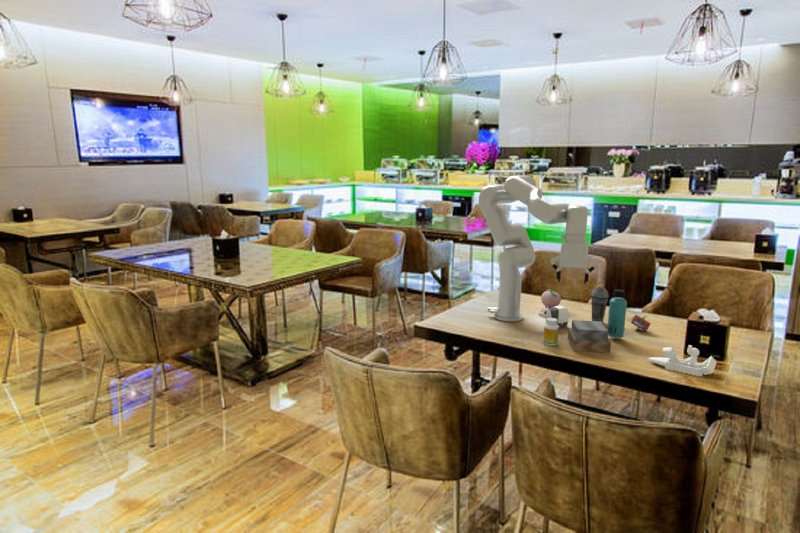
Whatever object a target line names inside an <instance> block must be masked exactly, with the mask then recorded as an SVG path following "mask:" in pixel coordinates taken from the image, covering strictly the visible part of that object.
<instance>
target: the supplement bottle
mask: <svg viewBox="0 0 800 533" xmlns="http://www.w3.org/2000/svg"><path fill="white" fill-rule="evenodd" d="M559 326H560V325H557V319H555V318H547V320H546V319H545V323H544V325H543V339H542V343H543V345H547V346H557V345H558V342H559V331H560V330H559V328H560V327H559Z"/></svg>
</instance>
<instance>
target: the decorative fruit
mask: <svg viewBox="0 0 800 533" xmlns="http://www.w3.org/2000/svg"><path fill="white" fill-rule="evenodd" d="M540 301H541V303H542V304H543V305H544V307H545V306H546V307H547V308H548V307H549V308H552V307H555V306H560V303H561V302H562V297H561V295H560V293H558V292H556V291H554V290H553V288H550V289H547V290H546V291H544V292H542V294H541V296H540Z"/></svg>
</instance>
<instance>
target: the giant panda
mask: <svg viewBox="0 0 800 533" xmlns="http://www.w3.org/2000/svg"><path fill="white" fill-rule="evenodd" d="M538 316H539V317H540V318H542V319H545V321H546V320H547V318H555V319H557V325H558V326H560V327H561V328H562V329H563V328H567V327H568V324H569V321H570V311H569V309H568V308H567V307H565V306H561V305H558V306H555V307H552V308H549V307H546V306H545V305H544V307H543V308H542V309H541V310H540V312H539V313H538Z"/></svg>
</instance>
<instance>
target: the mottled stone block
mask: <svg viewBox="0 0 800 533" xmlns="http://www.w3.org/2000/svg"><path fill="white" fill-rule="evenodd" d="M567 341H568V343H569V344H570V346H571V348H572V350H573V351H575V352H593V353H608V352H610V353H611V346H612V342H611V340H610V339H609V336H608V330H607V326H605V324H604V322H603V323H602V322H601V321H592V320H579V319H578V320H576V319H572V320H571V327H570V328H568V329H567Z"/></svg>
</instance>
